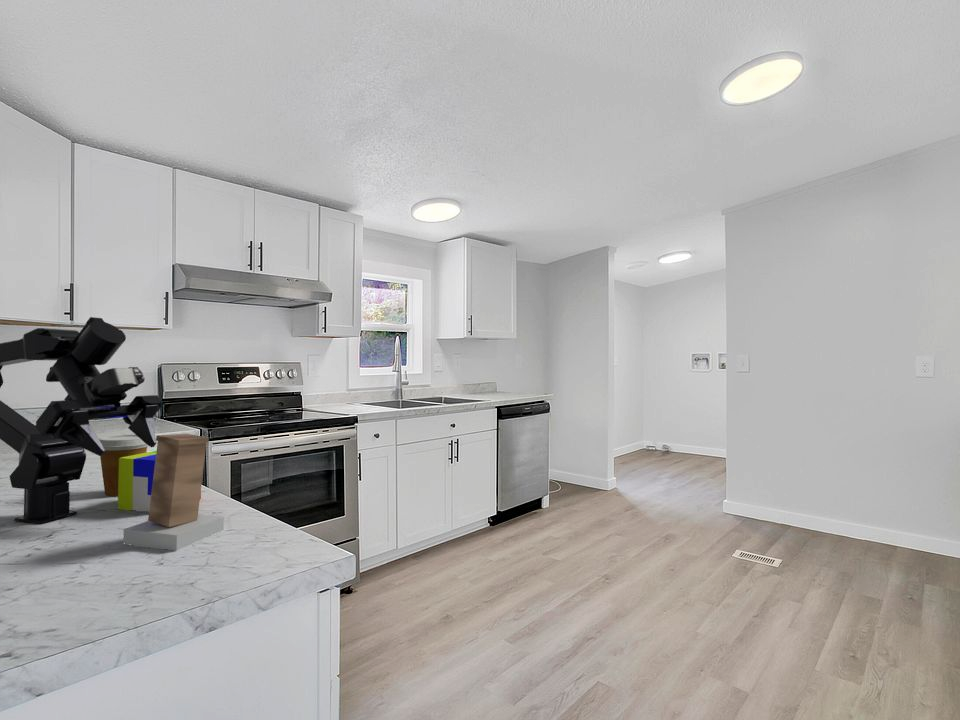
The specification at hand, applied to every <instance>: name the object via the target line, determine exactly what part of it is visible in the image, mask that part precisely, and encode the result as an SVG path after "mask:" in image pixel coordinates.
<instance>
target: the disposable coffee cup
mask: <svg viewBox="0 0 960 720" xmlns="http://www.w3.org/2000/svg"><path fill="white" fill-rule="evenodd" d="M98 439H99V440H100V442H101V443H102V445H103V447H104V449H105V453H104V454H103V455H102V456H99V457H100V466H101V472H102V479H103V480H102V481H103V488H104V489H103V490H104V495H105V496H108V497H118V479H119V458H122V457H127V456H132V455H137V454H142V453H147V452H148V447H149V446H148V445H147V444H146V443H145V442H143V441H142V440H141V439H140V438H139V437H138V436H137V435H136V434H120V435H108V436H104V437H101V438H98Z"/></svg>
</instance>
